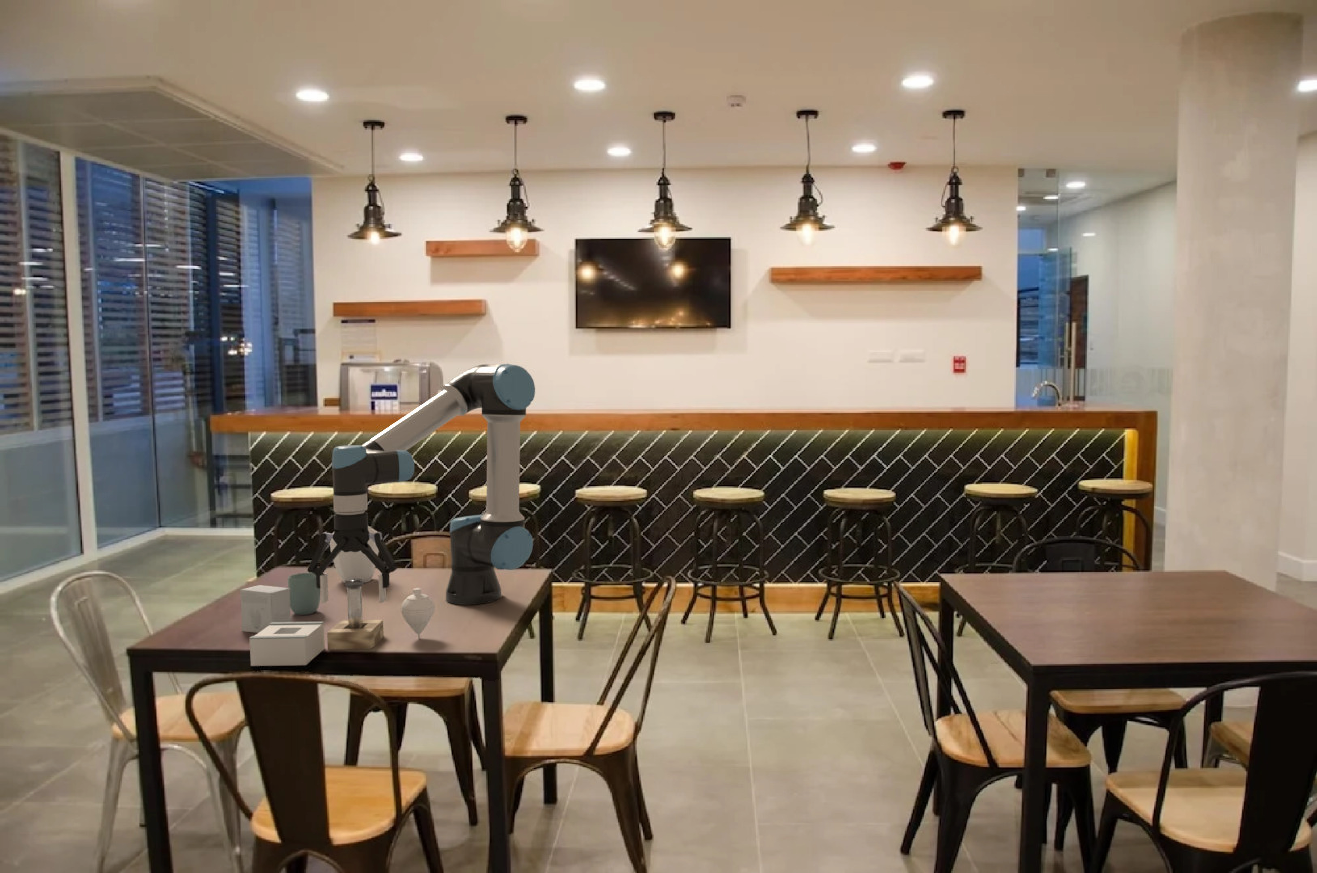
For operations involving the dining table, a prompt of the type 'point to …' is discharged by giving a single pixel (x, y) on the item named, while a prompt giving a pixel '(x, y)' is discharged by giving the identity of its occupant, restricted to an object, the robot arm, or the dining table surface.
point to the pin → (354, 603)
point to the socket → (287, 643)
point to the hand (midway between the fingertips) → (353, 601)
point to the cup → (303, 593)
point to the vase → (355, 562)
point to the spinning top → (417, 610)
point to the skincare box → (264, 607)
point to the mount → (355, 635)
